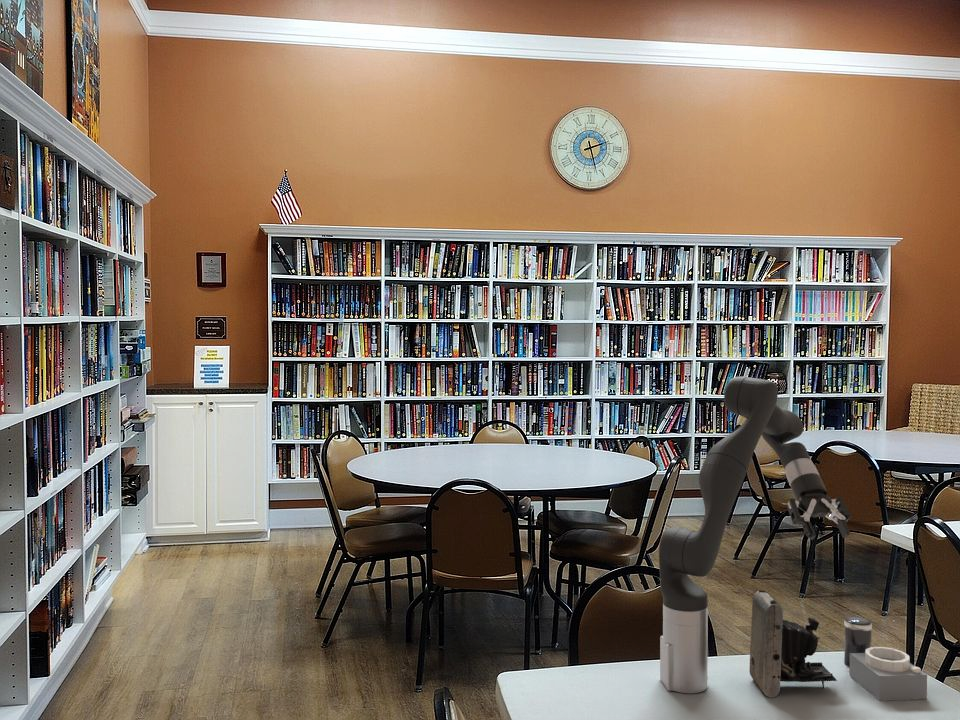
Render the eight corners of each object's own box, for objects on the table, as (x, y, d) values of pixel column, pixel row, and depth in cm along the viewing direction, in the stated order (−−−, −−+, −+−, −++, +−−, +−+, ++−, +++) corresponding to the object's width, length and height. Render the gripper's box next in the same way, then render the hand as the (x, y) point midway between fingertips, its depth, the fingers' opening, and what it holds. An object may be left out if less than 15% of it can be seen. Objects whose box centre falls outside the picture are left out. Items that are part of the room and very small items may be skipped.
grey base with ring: (879, 700, 166) (879, 666, 166) (849, 676, 178) (849, 644, 178) (926, 699, 167) (927, 665, 167) (894, 674, 179) (894, 643, 179)
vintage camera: (838, 701, 167) (842, 604, 167) (762, 698, 168) (765, 601, 167) (819, 681, 177) (823, 590, 177) (747, 679, 177) (751, 587, 177)
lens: (851, 669, 182) (852, 625, 181) (839, 659, 187) (839, 616, 187) (876, 669, 182) (876, 624, 182) (863, 659, 188) (863, 615, 187)
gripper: (783, 472, 203) (808, 529, 192) (837, 471, 205) (864, 527, 194) (773, 490, 208) (796, 546, 197) (825, 488, 210) (851, 544, 199)
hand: (830, 537), depth 195 cm, fingers open, 8 cm apart
